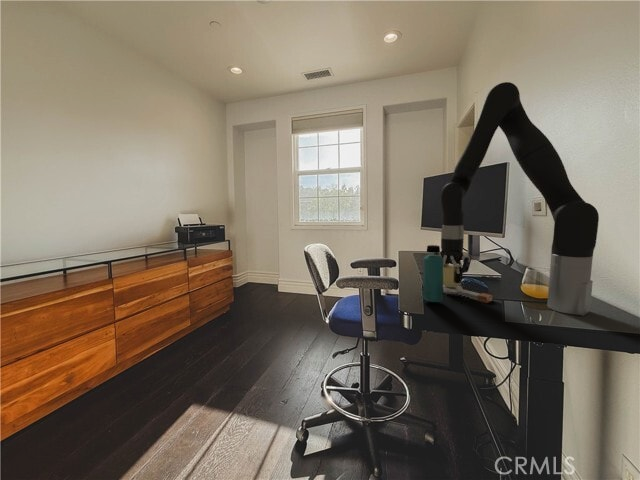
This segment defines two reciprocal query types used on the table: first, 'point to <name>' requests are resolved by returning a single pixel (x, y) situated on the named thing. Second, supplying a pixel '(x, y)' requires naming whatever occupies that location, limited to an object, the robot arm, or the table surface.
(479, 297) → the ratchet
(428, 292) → the beverage bottle
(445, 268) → the beige rounded cube
